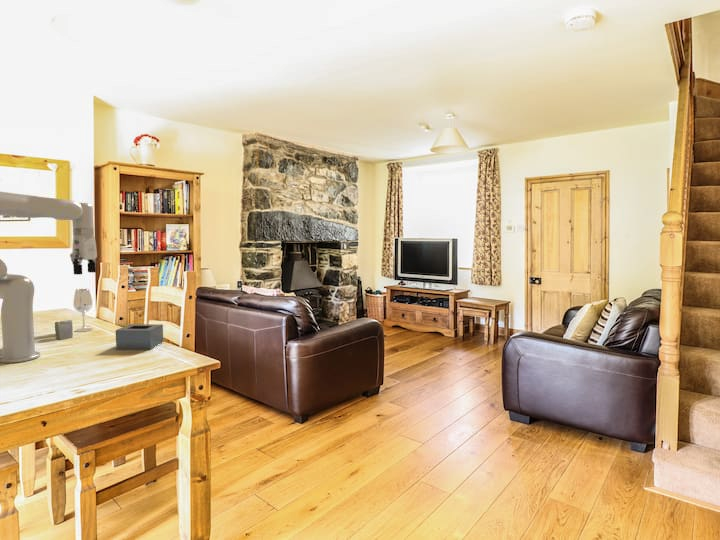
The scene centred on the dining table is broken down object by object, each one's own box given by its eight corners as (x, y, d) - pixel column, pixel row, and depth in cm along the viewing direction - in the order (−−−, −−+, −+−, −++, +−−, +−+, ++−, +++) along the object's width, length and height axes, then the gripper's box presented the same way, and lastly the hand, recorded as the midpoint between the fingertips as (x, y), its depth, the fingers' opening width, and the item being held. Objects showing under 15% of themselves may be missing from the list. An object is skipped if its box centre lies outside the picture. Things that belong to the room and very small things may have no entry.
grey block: (79, 334, 208) (75, 318, 205) (62, 342, 200) (58, 326, 197) (66, 332, 209) (62, 316, 207) (49, 340, 201) (45, 324, 199)
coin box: (116, 349, 184) (115, 330, 183) (130, 342, 196) (130, 324, 195) (150, 349, 184) (150, 330, 183) (163, 342, 196) (162, 324, 195)
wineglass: (78, 332, 214) (76, 290, 213) (71, 330, 219) (70, 289, 217) (96, 329, 220) (94, 289, 219) (89, 327, 225) (87, 288, 223)
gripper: (79, 232, 181) (81, 275, 182) (103, 232, 198) (105, 271, 199) (61, 232, 181) (63, 275, 182) (86, 232, 198) (88, 271, 199)
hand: (85, 273), depth 191 cm, fingers open, 9 cm apart
